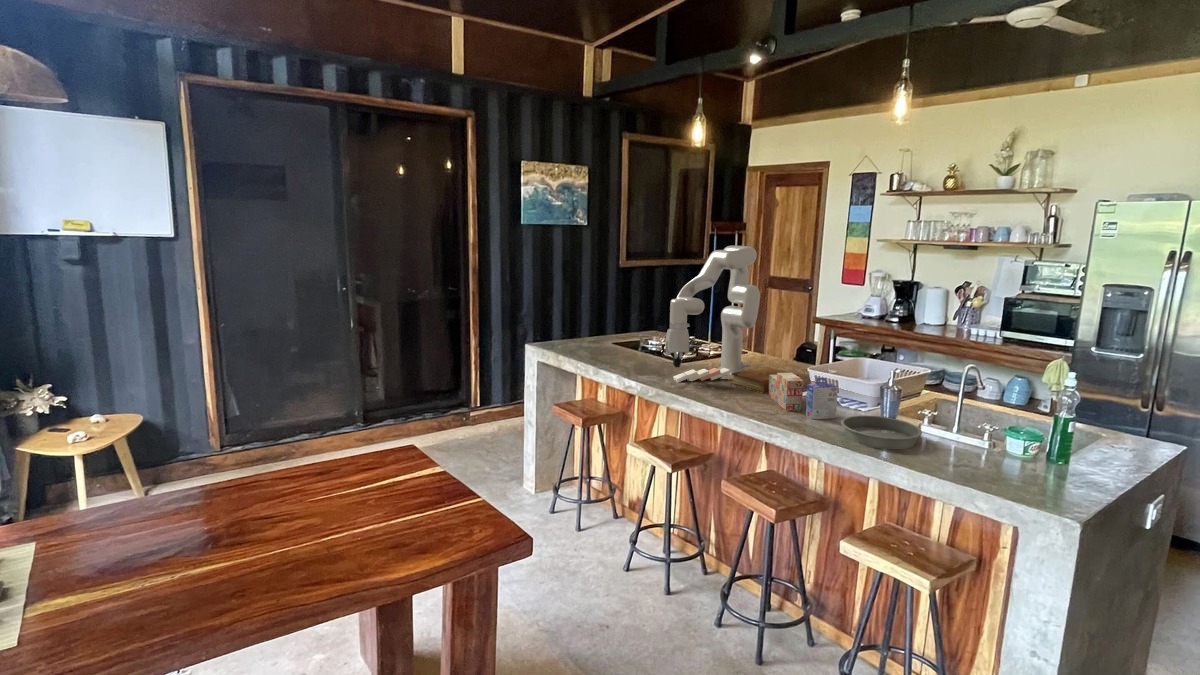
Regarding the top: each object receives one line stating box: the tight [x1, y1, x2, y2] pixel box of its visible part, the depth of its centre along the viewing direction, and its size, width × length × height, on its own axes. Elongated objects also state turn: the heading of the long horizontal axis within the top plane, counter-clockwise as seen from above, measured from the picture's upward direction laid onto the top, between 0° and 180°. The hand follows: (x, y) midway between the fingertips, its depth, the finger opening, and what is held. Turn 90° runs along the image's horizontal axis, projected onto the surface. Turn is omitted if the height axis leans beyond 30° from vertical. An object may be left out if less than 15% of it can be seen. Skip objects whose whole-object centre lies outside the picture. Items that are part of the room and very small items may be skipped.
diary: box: [730, 366, 800, 394], centre depth 278 cm, size 23×19×6 cm
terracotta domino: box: [699, 367, 721, 382], centre depth 287 cm, size 2×5×10 cm
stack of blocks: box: [768, 372, 804, 411], centre depth 249 cm, size 21×6×12 cm, turn 3°
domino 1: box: [686, 368, 709, 382], centre depth 285 cm, size 2×5×10 cm
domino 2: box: [707, 368, 731, 381], centre depth 289 cm, size 2×5×10 cm
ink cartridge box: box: [805, 377, 839, 420], centre depth 231 cm, size 10×6×14 cm, turn 99°
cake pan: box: [840, 415, 923, 450], centre depth 210 cm, size 25×25×4 cm
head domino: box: [672, 369, 698, 383], centre depth 284 cm, size 2×5×10 cm
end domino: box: [718, 373, 733, 380], centre depth 290 cm, size 2×5×10 cm
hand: (676, 366), depth 282 cm, fingers closed
